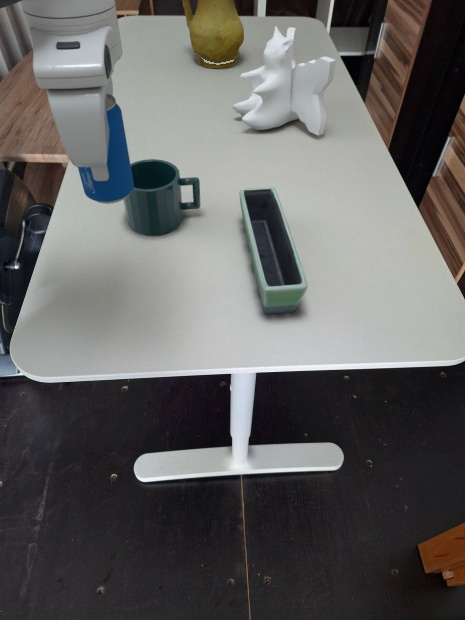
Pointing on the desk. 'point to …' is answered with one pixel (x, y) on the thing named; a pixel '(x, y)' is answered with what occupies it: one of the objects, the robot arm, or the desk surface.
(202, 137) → the desk surface
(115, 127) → the beverage can
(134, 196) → the teal faceted mug
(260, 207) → the planter
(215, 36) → the pitcher
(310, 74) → the white faceted figurine
